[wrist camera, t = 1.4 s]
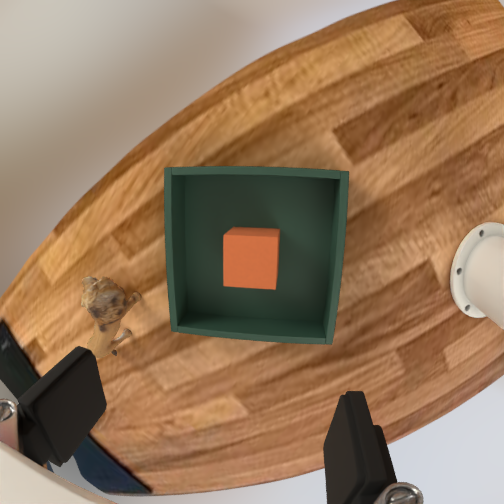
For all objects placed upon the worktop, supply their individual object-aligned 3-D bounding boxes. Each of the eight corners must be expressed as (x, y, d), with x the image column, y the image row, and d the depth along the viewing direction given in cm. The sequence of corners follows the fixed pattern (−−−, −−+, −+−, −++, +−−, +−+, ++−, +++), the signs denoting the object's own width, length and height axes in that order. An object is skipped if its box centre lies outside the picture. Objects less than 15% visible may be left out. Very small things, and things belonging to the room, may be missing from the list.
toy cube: (280, 228, 32) (278, 237, 27) (278, 273, 33) (275, 289, 28) (233, 226, 32) (223, 234, 28) (233, 271, 34) (223, 286, 29)
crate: (341, 172, 30) (349, 171, 26) (328, 326, 34) (332, 344, 30) (179, 168, 32) (164, 167, 28) (183, 315, 36) (171, 331, 32)
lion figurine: (112, 256, 36) (69, 277, 27) (147, 270, 35) (108, 296, 27) (103, 346, 39) (70, 377, 31) (134, 361, 39) (104, 396, 30)
